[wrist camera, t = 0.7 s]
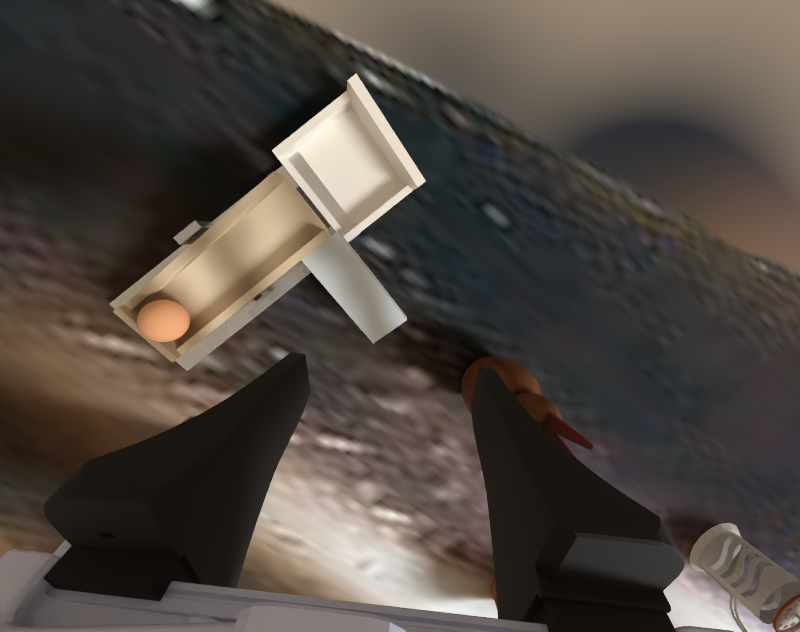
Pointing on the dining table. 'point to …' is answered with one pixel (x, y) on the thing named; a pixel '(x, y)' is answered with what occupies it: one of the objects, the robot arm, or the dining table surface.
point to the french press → (725, 559)
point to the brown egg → (163, 320)
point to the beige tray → (262, 268)
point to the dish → (352, 158)
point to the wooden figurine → (524, 397)
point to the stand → (270, 292)
